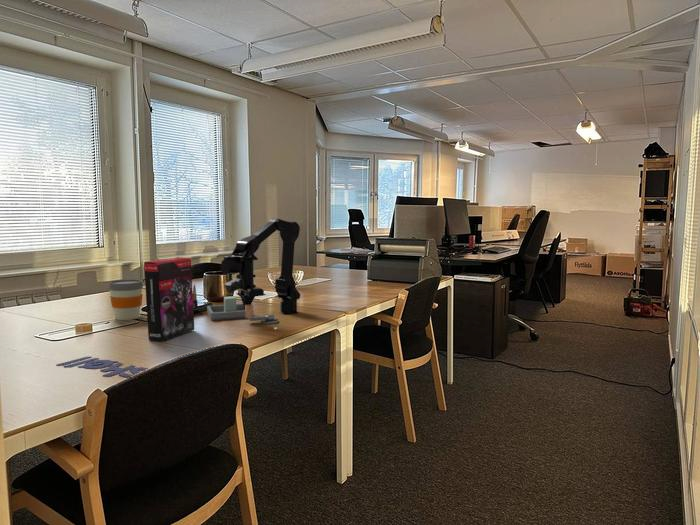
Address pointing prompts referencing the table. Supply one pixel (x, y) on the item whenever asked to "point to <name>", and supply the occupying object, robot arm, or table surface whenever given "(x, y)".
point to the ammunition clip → (194, 297)
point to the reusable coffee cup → (126, 298)
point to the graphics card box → (169, 298)
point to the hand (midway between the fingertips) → (246, 310)
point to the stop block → (229, 304)
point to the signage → (103, 366)
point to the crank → (250, 315)
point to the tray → (219, 314)
